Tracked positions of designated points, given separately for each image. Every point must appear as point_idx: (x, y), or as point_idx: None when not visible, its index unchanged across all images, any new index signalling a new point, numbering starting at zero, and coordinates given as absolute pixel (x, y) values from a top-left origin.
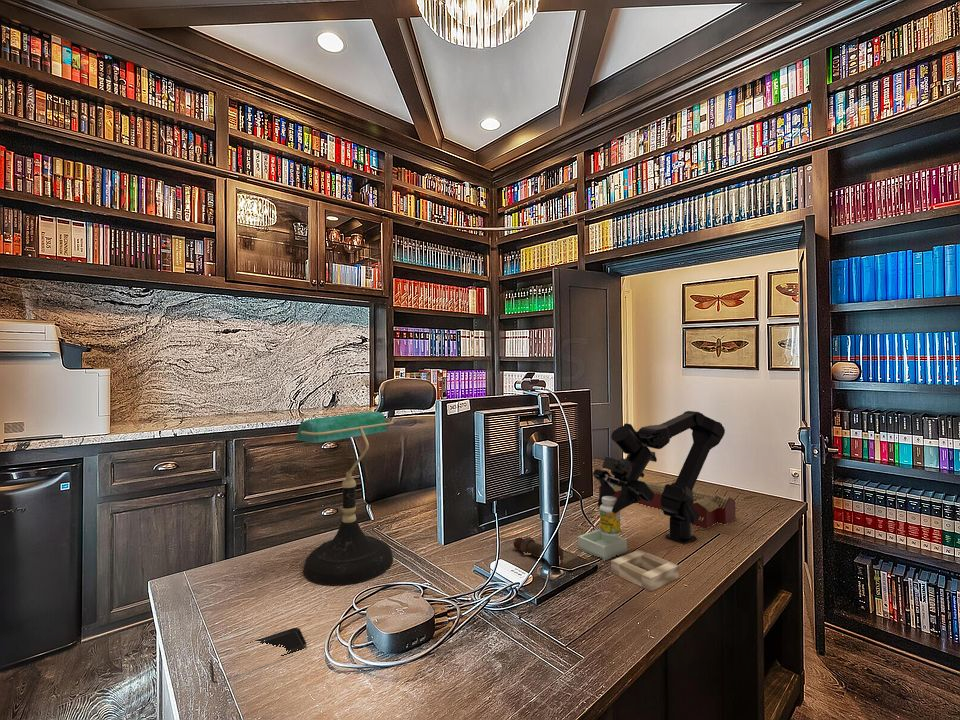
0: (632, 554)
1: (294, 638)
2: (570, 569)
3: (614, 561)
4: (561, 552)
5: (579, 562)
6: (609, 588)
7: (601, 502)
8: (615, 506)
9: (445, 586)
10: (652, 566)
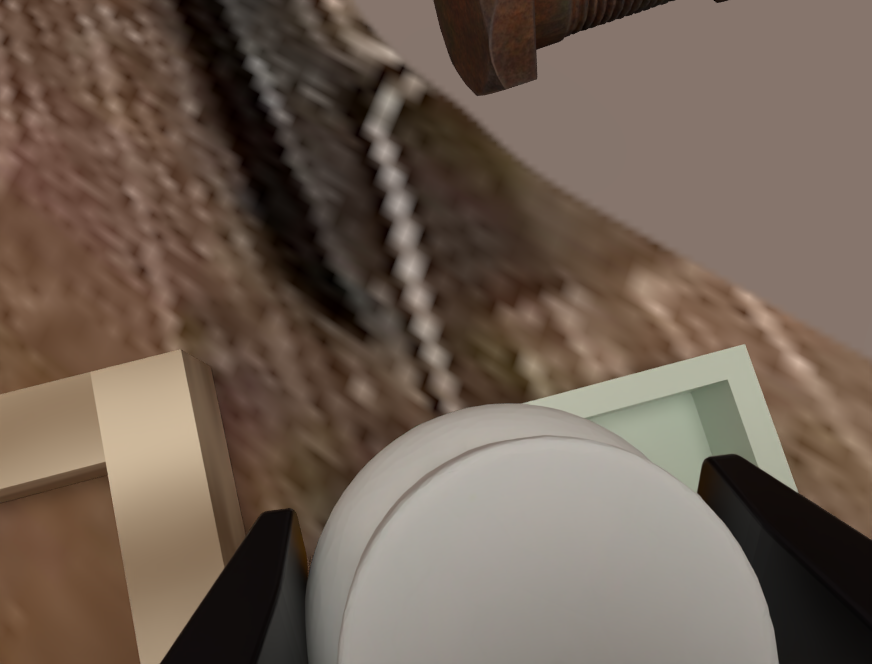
0: None
1: None
2: (377, 116)
3: (154, 366)
4: (481, 45)
5: (455, 236)
6: (24, 211)
7: (745, 551)
8: (215, 588)
9: None
10: None
